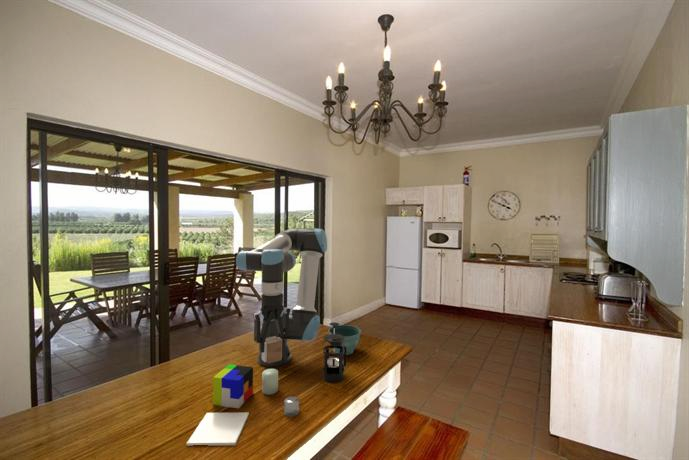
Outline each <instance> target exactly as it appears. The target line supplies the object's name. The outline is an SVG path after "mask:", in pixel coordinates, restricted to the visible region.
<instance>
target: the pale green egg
mask: <svg viewBox="0 0 689 460" xmlns="http://www.w3.org/2000/svg"><path fill="white" fill-rule="evenodd" d="M261 387H262V388H261V392H262V394H264V395H270V396H271V395H273V394H275V393H278V391H279V370H278V369H276V368H267V369H264V370H263V371H262V373H261Z"/></svg>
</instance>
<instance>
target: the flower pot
mask: <svg viewBox="0 0 689 460" xmlns="http://www.w3.org/2000/svg"><path fill="white" fill-rule="evenodd" d="M328 334H334V328H333V326H331V327H330V328H328ZM335 334H340V335H343V336H344V337H345V339H344V343H343V345H344V346H346V356H348V355H351V354H353V353H354V351H355V349H356V348H357V346H358V345H359V342H360V337H361V329H360V328H359V327H357V326H354V325H348V324H339V325H338V326H335ZM341 346H342V345H341ZM334 353H335V354H336V353H340V349H339V348H334Z"/></svg>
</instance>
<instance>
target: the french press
mask: <svg viewBox="0 0 689 460" xmlns="http://www.w3.org/2000/svg"><path fill="white" fill-rule="evenodd" d="M338 325H340V323H339V322H334V321H332V322H330V323H329V326H331V327H333V328H334V334H329V333H328V334H326V335H324V336H323V338H322V339H323V341H324V343H325V342H328V344H329V345H326V346H324V347H323V348H322V350H323V356H324V360H323V368H322V377H321V378H322V380H323V381H324V382H327V383H331V384H338V383H340V382H343V381H344V380H345V377H346V375H345V367H347V355H346V346H344V345H343V343H344V339H345V337H344V336H343V335H340V334H335V326H338ZM341 345H342V346H341ZM334 348H339V349H340V353H336V352H335V349H334ZM330 349H333V353H331V352H330ZM332 373H335V374H332Z"/></svg>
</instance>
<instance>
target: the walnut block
mask: <svg viewBox="0 0 689 460" xmlns="http://www.w3.org/2000/svg"><path fill="white" fill-rule="evenodd" d="M265 342H266V343H267V363H268V364H270V363H273V362H276V361H279V360H282V340H281V339H279V338H278V337H276V336H273V337H269V338H266V340H265Z"/></svg>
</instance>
